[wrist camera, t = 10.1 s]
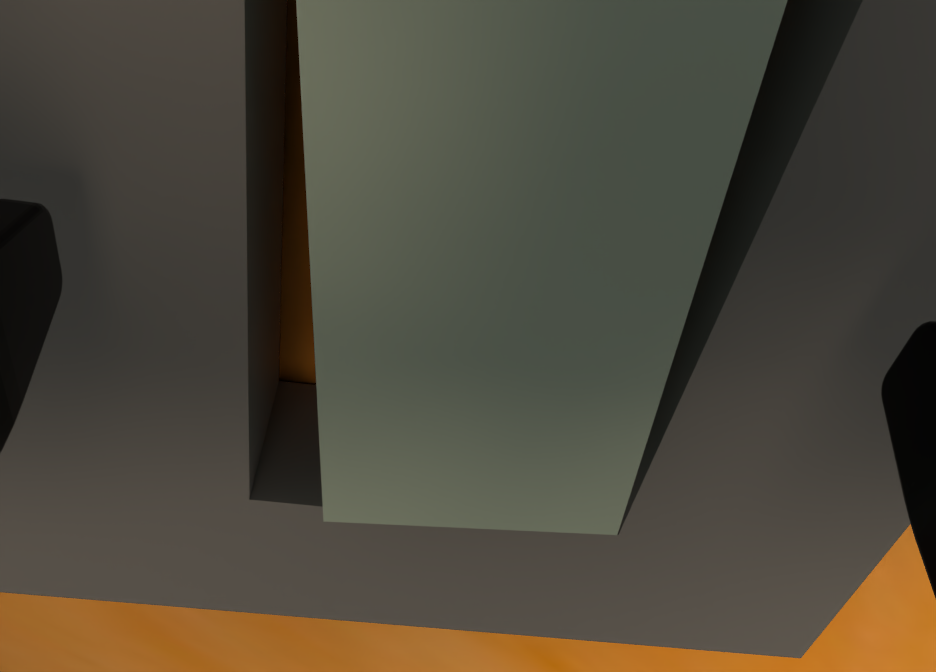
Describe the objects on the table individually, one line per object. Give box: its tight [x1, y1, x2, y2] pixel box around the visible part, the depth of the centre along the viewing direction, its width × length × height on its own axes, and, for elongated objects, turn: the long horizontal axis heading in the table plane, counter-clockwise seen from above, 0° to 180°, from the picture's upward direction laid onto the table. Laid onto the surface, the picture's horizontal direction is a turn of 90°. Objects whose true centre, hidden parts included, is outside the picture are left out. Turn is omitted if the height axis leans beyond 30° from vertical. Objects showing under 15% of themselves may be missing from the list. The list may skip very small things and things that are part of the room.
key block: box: [296, 0, 788, 535], centre depth 10 cm, size 4×8×4 cm, turn 175°
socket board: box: [0, 0, 936, 658], centre depth 10 cm, size 16×14×3 cm
